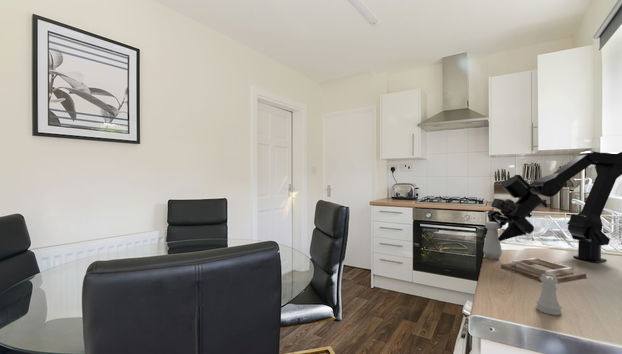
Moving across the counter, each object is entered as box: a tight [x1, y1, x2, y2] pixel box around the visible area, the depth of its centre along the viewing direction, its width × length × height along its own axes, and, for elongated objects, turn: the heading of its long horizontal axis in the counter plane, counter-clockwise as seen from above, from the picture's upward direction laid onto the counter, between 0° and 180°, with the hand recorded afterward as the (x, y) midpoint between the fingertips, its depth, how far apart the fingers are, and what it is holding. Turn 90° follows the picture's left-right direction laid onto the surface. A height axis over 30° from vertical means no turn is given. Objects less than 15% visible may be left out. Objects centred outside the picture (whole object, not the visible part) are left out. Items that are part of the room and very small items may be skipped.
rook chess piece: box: [535, 274, 563, 316], centre depth 63 cm, size 4×4×8 cm
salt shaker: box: [482, 221, 503, 260], centre depth 103 cm, size 6×6×13 cm
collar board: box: [500, 257, 587, 283], centre depth 88 cm, size 16×14×2 cm
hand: (491, 237), depth 103 cm, fingers open, 9 cm apart
